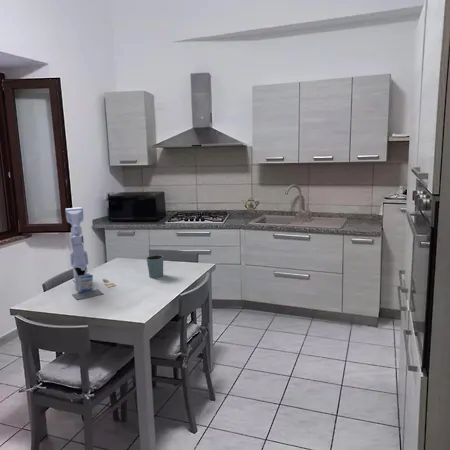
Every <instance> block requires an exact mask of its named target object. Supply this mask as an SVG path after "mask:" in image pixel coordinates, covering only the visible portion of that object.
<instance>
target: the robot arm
mask: <svg viewBox="0 0 450 450" xmlns="http://www.w3.org/2000/svg"><path fill="white" fill-rule="evenodd" d="M65 219H66V222H67V223H68V224H70V226H71V227H70V233H71V234H70V235H71V237H70V244H71V248H72V251H71V253H70V256H69V257H70V266H71V267H73V269H72V271H73V273H72V274H73V278H72V280H73V281H74V282H75V283H76V276H79V275H84V274H88V269H87V266H88V265H89V256H88V253H87V251H86V250H85V249H84V245H85V242H84V241H85V240H84V235H83V231H82V226H81V223H82V222H84V208H83V207H82V206H80V207H71V208H70V207H69V208H67V207H66V208H65Z"/></svg>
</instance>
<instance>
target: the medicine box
mask: <svg viewBox="0 0 450 450" xmlns="http://www.w3.org/2000/svg"><path fill="white" fill-rule="evenodd" d="M93 280H94V275H93V274H92V273H87V274H84V275H79V276H76V282H75V291H76V292H77V293H82V292H86V291H91V290H93V286H94V285H93V282H94V281H93Z"/></svg>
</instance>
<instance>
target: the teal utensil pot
mask: <svg viewBox="0 0 450 450" xmlns="http://www.w3.org/2000/svg"><path fill="white" fill-rule="evenodd" d="M146 265H147V269H148V270H147V271H148V276H149V278H151V279H158V278H162V277H164V256H163V255H161V254H159V255H158V254H156V255H149V256H146Z"/></svg>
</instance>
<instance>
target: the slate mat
mask: <svg viewBox="0 0 450 450" xmlns="http://www.w3.org/2000/svg"><path fill="white" fill-rule="evenodd" d="M102 295H104V293H103V292H102V291H101V289H98V288H96V289H92V290H89V291H85V292H81V293H80V292H77V293H73V294H72V297H74V298H75V300H77V301H79V300H84V299H89V298H93V297H97V296H102Z"/></svg>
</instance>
